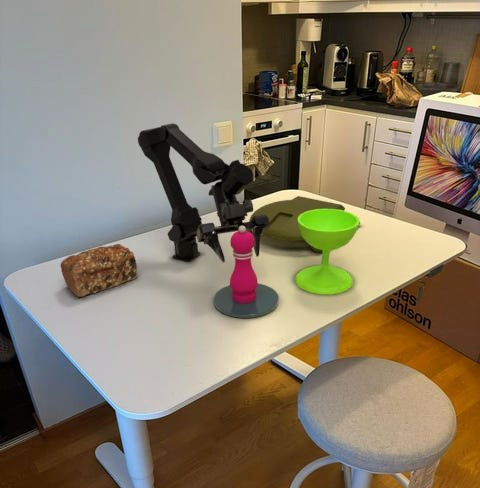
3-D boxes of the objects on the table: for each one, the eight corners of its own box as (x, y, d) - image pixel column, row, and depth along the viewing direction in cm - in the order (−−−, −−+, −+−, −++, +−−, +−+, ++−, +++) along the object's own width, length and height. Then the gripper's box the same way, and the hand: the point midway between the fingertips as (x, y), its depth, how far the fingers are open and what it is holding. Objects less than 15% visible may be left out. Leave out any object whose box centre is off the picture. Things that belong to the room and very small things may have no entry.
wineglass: (293, 267, 146) (295, 209, 136) (348, 267, 145) (354, 208, 135) (297, 294, 132) (299, 232, 123) (357, 294, 132) (364, 231, 122)
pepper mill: (261, 292, 132) (260, 221, 121) (253, 306, 126) (251, 233, 115) (235, 289, 134) (233, 219, 123) (226, 302, 128) (222, 230, 117)
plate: (201, 309, 128) (201, 305, 127) (234, 281, 140) (234, 277, 139) (260, 325, 120) (260, 321, 120) (289, 294, 133) (289, 290, 132)
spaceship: (286, 208, 187) (286, 182, 182) (362, 225, 172) (365, 197, 166) (231, 240, 164) (230, 212, 158) (313, 263, 148) (315, 232, 143)
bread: (78, 300, 133) (70, 267, 128) (64, 285, 140) (56, 253, 135) (140, 279, 142) (135, 247, 137) (123, 266, 150) (118, 235, 144)
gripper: (195, 193, 119) (210, 253, 116) (267, 183, 124) (284, 241, 121) (190, 213, 130) (204, 269, 127) (257, 204, 135) (271, 257, 132)
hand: (241, 259), depth 127 cm, fingers open, 9 cm apart
